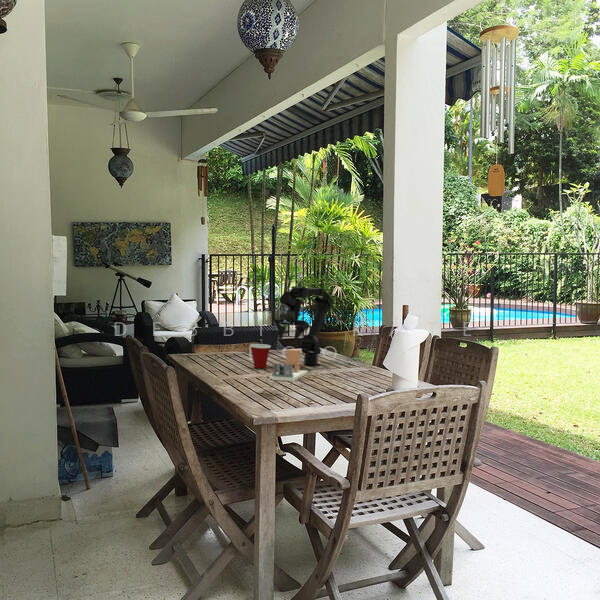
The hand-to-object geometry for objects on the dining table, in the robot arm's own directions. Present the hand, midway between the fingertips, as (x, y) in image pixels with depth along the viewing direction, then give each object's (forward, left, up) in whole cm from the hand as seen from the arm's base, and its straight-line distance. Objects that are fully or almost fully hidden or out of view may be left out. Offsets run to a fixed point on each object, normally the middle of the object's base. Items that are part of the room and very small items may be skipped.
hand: (287, 339), depth 322 cm
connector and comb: (+14, +17, -14) cm, 26 cm away
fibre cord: (+9, +13, -13) cm, 21 cm away
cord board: (+8, +13, -16) cm, 22 cm away
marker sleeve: (+3, +9, -14) cm, 17 cm away
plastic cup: (+6, -15, -16) cm, 23 cm away
